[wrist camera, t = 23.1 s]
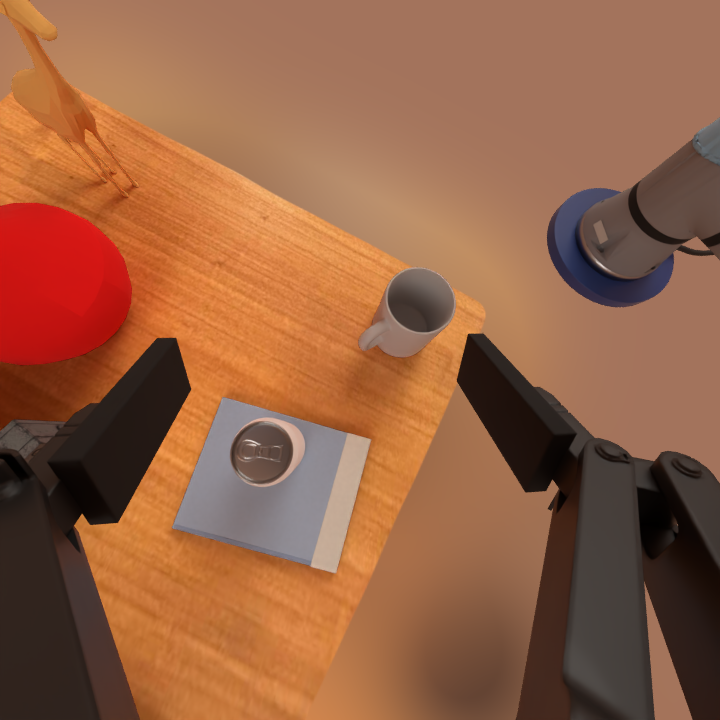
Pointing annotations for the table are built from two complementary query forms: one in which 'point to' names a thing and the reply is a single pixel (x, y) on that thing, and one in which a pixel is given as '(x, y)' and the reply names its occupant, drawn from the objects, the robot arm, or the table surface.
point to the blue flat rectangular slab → (276, 492)
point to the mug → (410, 313)
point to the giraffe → (52, 88)
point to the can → (266, 451)
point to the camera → (28, 436)
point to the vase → (57, 285)
